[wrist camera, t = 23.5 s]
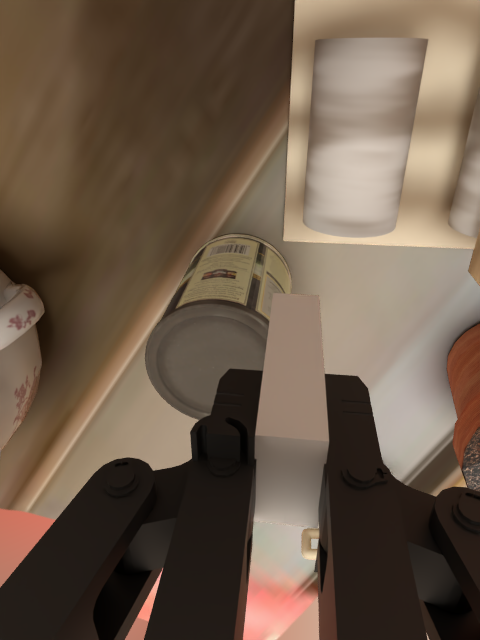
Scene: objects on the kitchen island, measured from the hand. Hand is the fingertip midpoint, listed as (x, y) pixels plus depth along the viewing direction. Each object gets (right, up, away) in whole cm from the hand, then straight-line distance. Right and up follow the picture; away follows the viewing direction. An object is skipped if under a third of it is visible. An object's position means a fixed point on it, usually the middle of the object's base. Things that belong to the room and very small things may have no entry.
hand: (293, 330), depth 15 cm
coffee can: (-2, +4, +29) cm, 29 cm away
